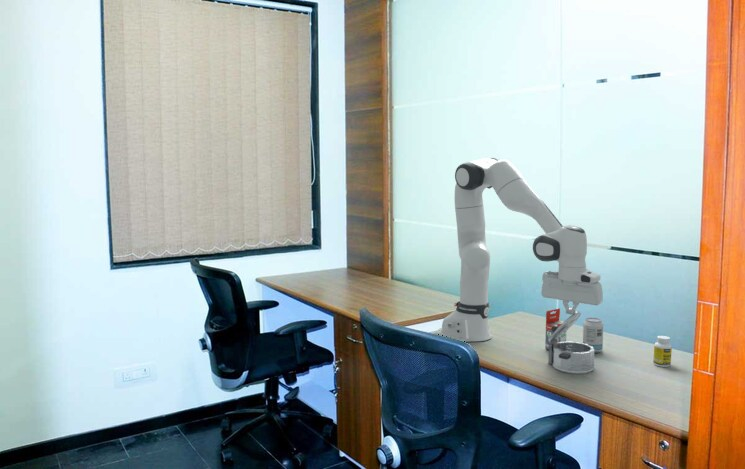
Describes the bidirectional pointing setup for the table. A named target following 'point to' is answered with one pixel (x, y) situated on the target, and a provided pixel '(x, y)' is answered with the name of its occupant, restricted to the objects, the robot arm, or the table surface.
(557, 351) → the pot
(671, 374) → the table surface
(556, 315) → the ink box
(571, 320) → the lid
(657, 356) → the supplement bottle
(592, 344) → the beverage can
